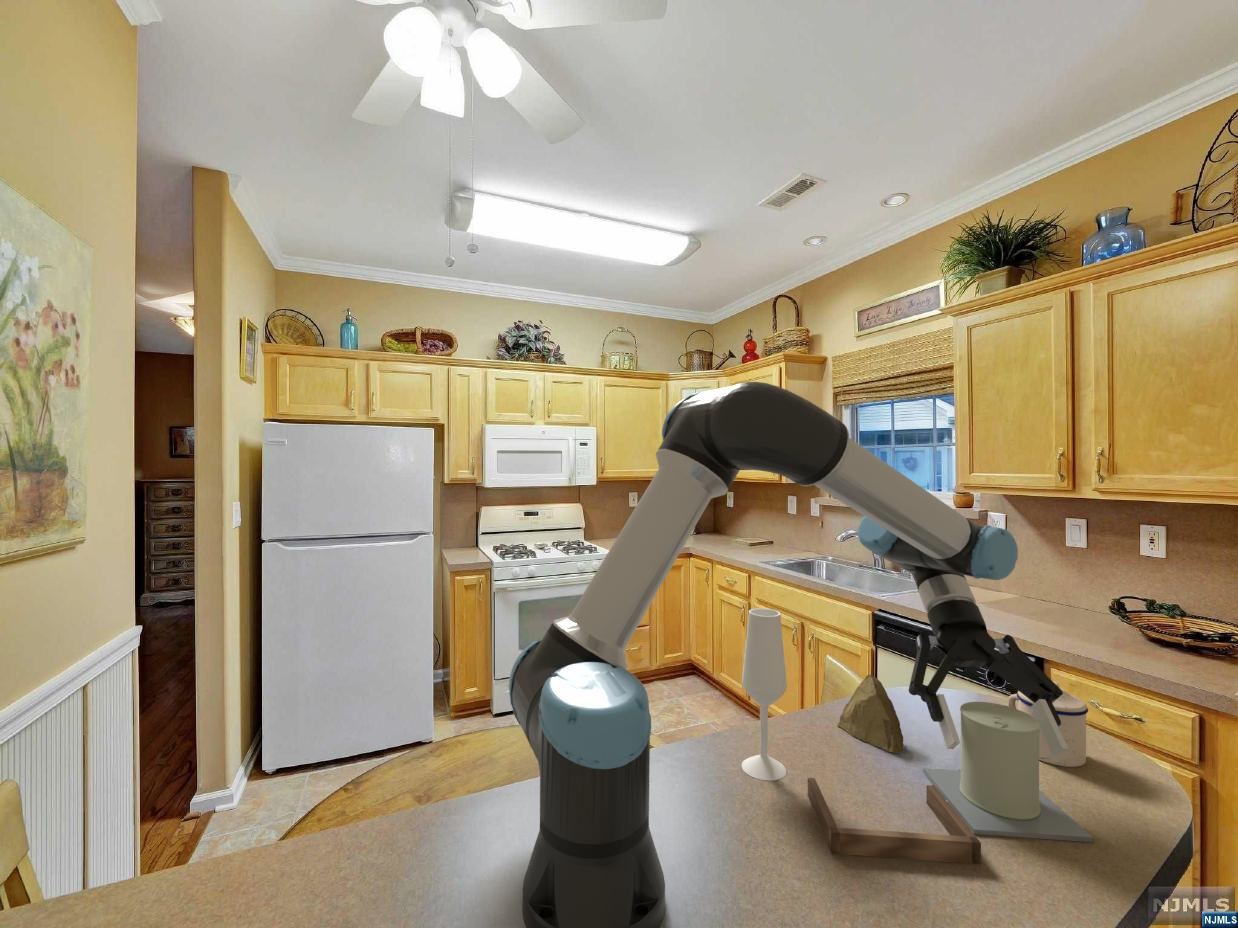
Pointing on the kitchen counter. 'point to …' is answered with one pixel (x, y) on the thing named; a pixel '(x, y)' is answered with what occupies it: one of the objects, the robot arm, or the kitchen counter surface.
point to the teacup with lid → (1061, 728)
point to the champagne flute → (764, 683)
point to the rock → (872, 716)
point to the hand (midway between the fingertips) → (1006, 749)
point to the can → (1000, 760)
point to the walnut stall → (901, 834)
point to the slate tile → (982, 822)
